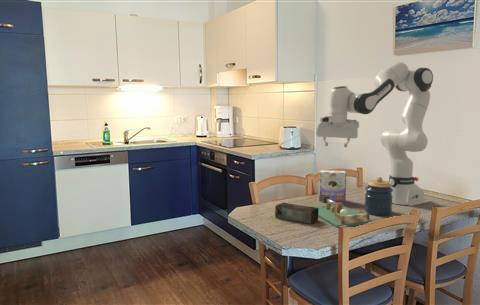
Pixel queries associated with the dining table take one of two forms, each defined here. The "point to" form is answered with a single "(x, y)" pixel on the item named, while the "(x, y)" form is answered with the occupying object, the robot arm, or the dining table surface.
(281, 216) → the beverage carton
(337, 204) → the rod
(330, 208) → the pitch
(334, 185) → the candy box
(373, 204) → the canister
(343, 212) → the ball
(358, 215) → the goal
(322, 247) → the dining table surface
